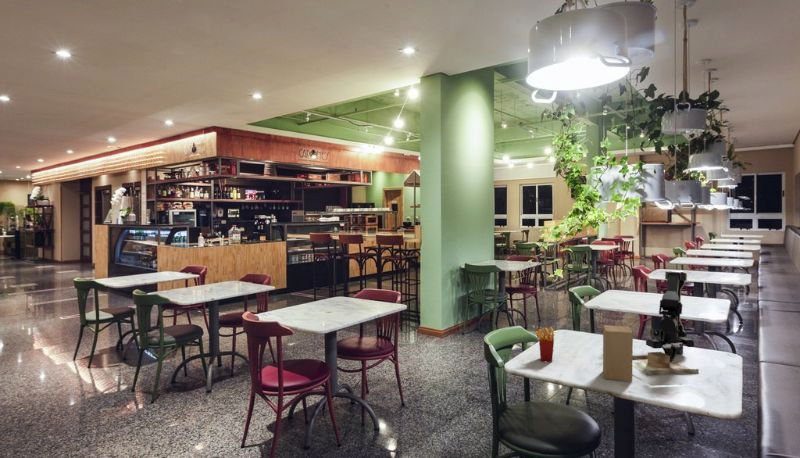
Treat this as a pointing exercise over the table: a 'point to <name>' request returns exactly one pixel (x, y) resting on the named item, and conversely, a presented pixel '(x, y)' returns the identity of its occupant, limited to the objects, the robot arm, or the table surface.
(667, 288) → the robot arm
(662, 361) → the walnut block
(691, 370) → the trap board
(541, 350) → the french fries
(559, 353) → the table surface
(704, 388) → the table surface
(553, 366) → the table surface
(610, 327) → the wooden block
